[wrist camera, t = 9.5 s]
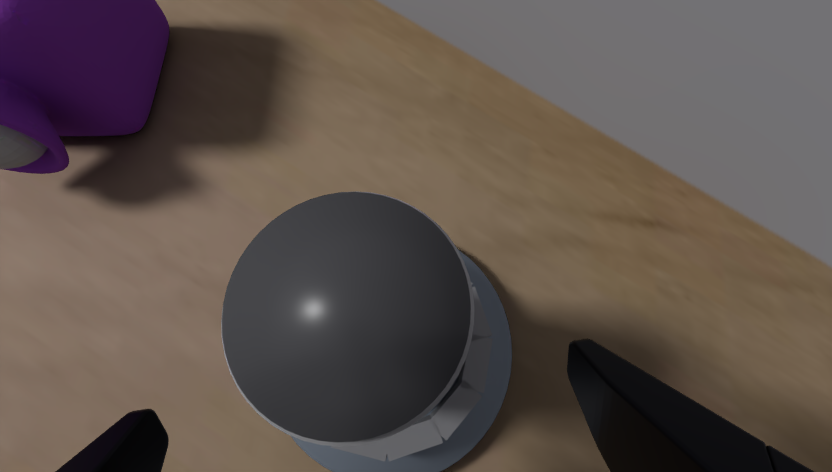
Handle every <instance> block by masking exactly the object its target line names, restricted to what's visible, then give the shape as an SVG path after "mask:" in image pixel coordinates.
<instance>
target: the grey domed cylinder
mask: <svg viewBox="0 0 832 472" xmlns="http://www.w3.org/2000/svg"><path fill="white" fill-rule="evenodd" d="M221 325H222V342H223V348H224V354H225V358H226V361H227V364H228V367H229V371H230V373H231V375H232V377H233V379H234V381H235V384H236V386H237V387H238V389H239V390H240V392H241V393H242V395H243V396H244V398H245V399H246V401H247V402H248V403H249V404H250V405H251V407H252V408H253V409H254V410H255V411H256V412H257V413H258V414H259V415H260V416H261V417H263V418H264V419H265V420H266V421H267V422H269V423H270V424H271V425H273V426H274V427H276V428H278V429H279V430H281V431H283V432H284V433H286V434H288V435H290V436H293V437H295V438H298V439H300V440H303V441H306V442H311V443H315V444H319V445H327V446H338V447H341V446H357V445H362V444H367V443H372V442H376V441H379V440H382V439H385V438H388V437H390V436H393V435H395V434H397V433H399V432H401V431H403V430H405V429H407V428H408V427H410V426H411V425H413V424H414V423H416V422H417V421H418V420H420V419H421V418H423V417H424V416H425V415H426V414H427V413H428V412H430V411H431V410H432V409H433V408H434V407H435V406H436V405H437V404H438V403H439V402H440V400H441V399H442V398H443V397H444V396H445V394H446V393H447V392H448V391H449V389H450V388H451V386H452V385H453V383H454V381H455V380H456V378H457V376H458V375H459V373H460V371H461V368H462V366H463V364H464V362H465V360H466V357H467V354H468V350H469V347H470V344H471V339H472V333H473V327H474V298H473V290H472V286H471V281H470V277H469V274H468V271H467V269H466V266H465V263H464V261H463V259H462V257H461V255H460V253H459V251H458V249H457V248H456V246H455V245H454V243H453V242H452V241H451V239H450V238H449V236H448V235H447V234H446V233H445V232H444V231H443V230H442V228H441V227H440V226H439V225H438V224H437V223H436V222H434V221H433V220H432V219H431V218H430V217H428V216H427V215H426V214H424V213H423V212H421V211H420V210H418V209H417V208H415V207H413V206H411V205H409V204H407V203H405V202H403V201H401V200H398V199H395V198H392V197H389V196H386V195H381V194H376V193H370V192H340V193H334V194H328V195H323V196H320V197H317V198H313V199H310V200H308V201H305V202H303V203H301V204H298V205H296V206H294V207H293V208H291V209H289V210H287V211H286V212H284V213H282V214H281V215H280V216H278V217H277V218H275V219H274V220H273V221H271V222H270V223H269V224H268V225H267V226H266V227H265V228H264V229H263V230H261V231H260V232H259V233H258V235H257V236H256V237H255V238H254V239H253V240H252V242H251V243H250V244H249V245H248V247H247V248H246V250H245V251H244V253H243V254H242V256H241V257H240V259H239V261H238V263H237V265H236V267H235V269H234V271H233V273H232V275H231V278H230V281H229V284H228V286H227V290H226V294H225V299H224V303H223V310H222V320H221Z"/></svg>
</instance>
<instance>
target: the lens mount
mask: <svg viewBox="0 0 832 472" xmlns="http://www.w3.org/2000/svg"><path fill="white" fill-rule="evenodd" d="M458 251H459V250H458ZM459 253H460V255H461V257H462V259H463V261H464V263H465V266H466V269H467V271H468V274H469V277H470V281H471V286H472V290H473V298H474V327H473V333H472V339H471V344H470V347H469V350H468V354H467V357H466V360H465V362H464V364H463V366H462V368H461V371H460V373H459V375H458V376H457V378H456V380H455V381H454V383H453V385H452V386H451V388H450V389H449V391H448V392H447V393H446V394H445V396H444V397H443V398H442V399H441V400H440V402H439V403H438V404H437V405H436V406H435V407H434V408H433V409H432V410H431V411H430V412H428V413H427V414H426V415H425V416H424V417H423V418H421V419H420V420H418V421H417V422H416V423H414V424H413V425H411V426H410V427H408V428H407V429H405V430H403V431H401V432H399V433H397V434H395V435H393V436H390V437H388V438H385V439H382V440H379V441H376V442H372V443H367V444H362V445H357V446H341V447H338V446H327V445H319V444H315V443H311V442H306V441H303V440H300V439H298V438H295V437H293V436H291V437H292V438H293V439H294V441H295V442H296V443H297V445H299V446H300V447H301V448H302V449H303V450H304V451H305V452H306V453H307V454H308V455H309V456H310V457H311V458H312V459H314V460H315V461H317V462H318V463H319V464H321V465H322V466H323V467H325V468H327V469H329V470H331V471H333V472H441V471H443V470H444V469H446V468H448V467H449V466H451V465H452V464H454V463H456V462H457V461H459V460H460V459H461V458H462V457H463V456H465V455H466V454H467V453H468V452H469V451H471V450H472V449H473V447H474V446H475V445H476V444H477V443H478V442H479V441H480V440H481V439H482V438H483V436H484V435H485V434H486V432H487V431H488V429H489V428H490V426H491V425H492V423H493V422H494V420H495V418H496V416H497V414H498V412H499V410H500V408H501V406H502V403H503V400H504V397H505V395H506V392H507V388H508V383H509V379H510V374H511V363H512V345H511V335H510V329H509V324H508V320H507V317H506V314H505V311H504V308H503V305H502V303H501V301H500V299H499V296H498V294H497V292H496V291H495V289H494V287H493V286H492V284H491V283H490V281H489V280H488V278H487V277H486V276H485V275H484V273H483V272H482V271H481V269H480V268H479V267H478V266H477V265H476V264H475V263H474V262H473V261H472V260H471V259H470V258H468V257H467V256H466V255H464V254H463V253H462V252H460V251H459Z"/></svg>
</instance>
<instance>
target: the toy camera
mask: <svg viewBox="0 0 832 472" xmlns="http://www.w3.org/2000/svg"><path fill="white" fill-rule="evenodd" d="M168 38H169V25H168V22H167V19H166V17H165V15H164V14H163V12H162V10H161V9H160V7H159V6H158V4H157V3H156V1H155V0H0V169H4V170H10V171H17V172H24V173H38V174H44V173H54V172H59V171H62V170H64V169H65V168H66V167H67V166H68V164H69V156H68V154H67V151H66V149H65V146H64V144H63V142H62V140H61V139H60V137H59V136H113V135H126V134H132V133H135V132H137V131H139V130H140V129H141V128H142V127H143V126H144V124H145V123H146V121H147V118H148V116H149V113H150V109H151V106H152V102H153V99H154V95H155V91H156V87H157V84H158V80H159V76H160V72H161V68H162V64H163V60H164V56H165V53H166V48H167V44H168Z"/></svg>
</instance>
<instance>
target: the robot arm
mask: <svg viewBox="0 0 832 472" xmlns="http://www.w3.org/2000/svg"><path fill="white" fill-rule="evenodd" d="M567 372H568V377H569V380H570V383H571V385H572V387H573V390H574V392H575V395H576V397H577V399H578V402H579V404H580V407H581V409H582V412H583V414H584V416H585V419H586V421H587V424H588V426H589V428H590V431H591V433H592V436H593V438H594V440H595V442H596V445H597V447H598V449H599V451H600V453H601V455H602V457H603V459H604V460H605V462H606V464H607V466H608V468H609V470H610V472H814V471H812V470H811V469H809V468H807V467H805V466H804V465H802V464H800V463H798V462H797V461H795V460H793V459H792V458H790V457H788V456H786V455H785V454H783V453H781V452H780V451H778V450H776V449H775V448H773V447H771V446H766V445H765V443H764V442H763V441H761V440H759V439H758V438H756V437H754V436H752V435H751V434H749V433H747V432H746V431H744V430H742V429H741V428H739V427H737V426H736V425H734V424H732V423H731V422H729V421H727V420H726V419H724V418H722V417H720V416H719V415H717V414H715V413H714V412H712V411H710V410H709V409H707V408H705V407H704V406H702V405H700V404H699V403H697V402H695V401H694V400H692V399H690V398H688V397H687V396H685V395H683V394H682V393H680V392H678V391H677V390H675V389H673V388H672V387H670V386H668V385H667V384H665V383H663V382H662V381H660V380H658V379H656V378H655V377H653V376H651V375H650V374H648V373H646V372H645V371H643V370H641V369H640V368H638V367H636V366H635V365H633V364H631V363H630V362H628V361H626V360H624V359H623V358H621V357H619V356H618V355H616V354H614V353H613V352H611V351H609V350H608V349H606V348H604V347H603V346H601V345H599V344H598V343H596V342H594V341H592V340H590V339H581V340H575V341H572V342H570V344H569V350H568V365H567ZM167 448H168V435H167V432H166V430H165V429H164V427H163V425H162V423H161V421H160V420H159V418H158V416H157V414H156V413H155V411H153V410H152V409H143V410H137V411H132V412H130V413H128V414H126V415H125V416H124V417H123V418H121V419H120V420H119V421H118V422H116V423H115V424H114V425H113V426H111V427H110V428H109V429H108V430H106V431H105V432H104V433H103V434H102V435H100V436H99V437H98V438H97V439H95V440H94V441H93V442H92V443H90V444H89V445H88V446H87V447H85V448H84V449H83V450H82V451H80V452H79V453H78V454H77V455H75V456H74V457H73V458H72V459H71V460H69V461H68V462H67V463H66V464H64V465H63V466H62V467H61V468H59V469H58V470H57V471H56V472H161V470H162V466H163V463H164V459H165V455H166V452H167Z"/></svg>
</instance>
